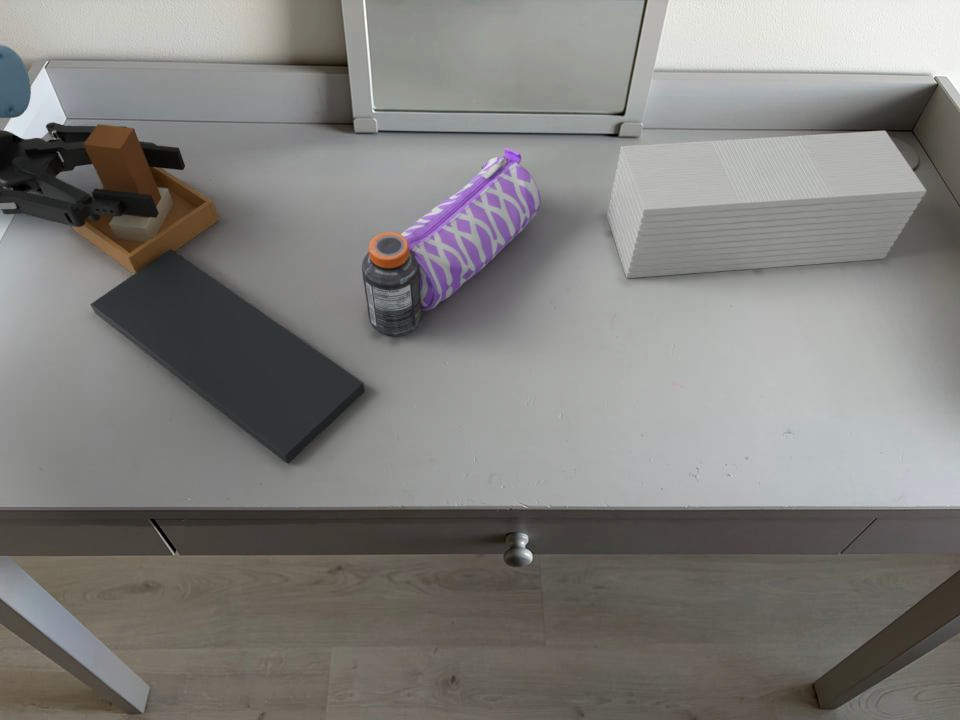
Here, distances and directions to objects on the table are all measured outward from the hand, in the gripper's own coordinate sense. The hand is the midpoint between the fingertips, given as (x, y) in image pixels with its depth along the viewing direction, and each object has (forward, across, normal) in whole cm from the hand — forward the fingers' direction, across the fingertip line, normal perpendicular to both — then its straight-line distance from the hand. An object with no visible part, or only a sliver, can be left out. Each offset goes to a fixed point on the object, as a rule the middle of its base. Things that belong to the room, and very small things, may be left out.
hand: (167, 182), depth 89 cm
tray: (-5, 0, -7) cm, 9 cm away
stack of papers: (+68, -10, -8) cm, 69 cm away
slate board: (+11, +17, -7) cm, 22 cm away
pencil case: (+34, -1, -8) cm, 35 cm away
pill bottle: (+28, +10, -8) cm, 31 cm away
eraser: (-5, 0, -7) cm, 8 cm away
